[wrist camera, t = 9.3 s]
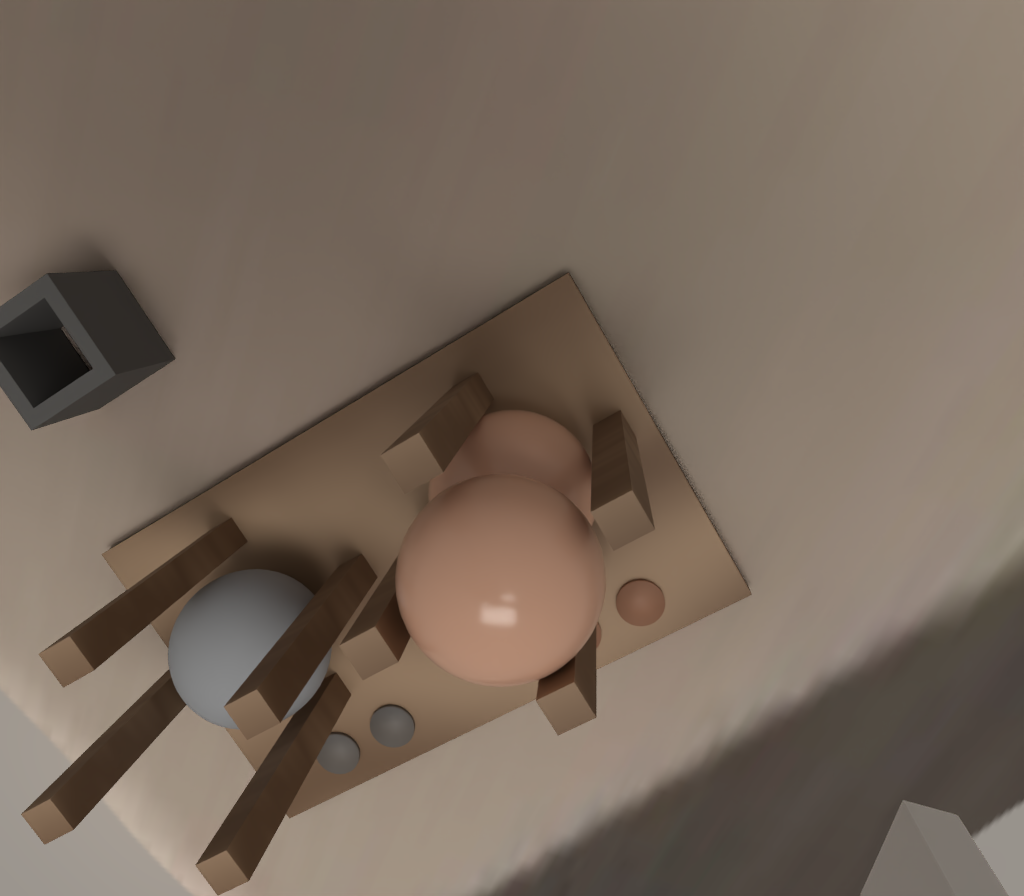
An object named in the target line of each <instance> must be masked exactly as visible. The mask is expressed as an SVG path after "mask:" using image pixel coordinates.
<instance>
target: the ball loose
mask: <svg viewBox="0 0 1024 896" xmlns="http://www.w3.org/2000/svg"><path fill="white" fill-rule="evenodd" d="M395 585H396V597H397V602H398V606H399V610H400V614H401V617H402V619H403V622H404V624H405V626H406V628H407V631H408V633H409V634H410V636H411V637H412V639H413V641H414V642H415V643H416V645H417V646H418V647H419V649H420V650H421V651H422V652H423V653H424V654H425V656H427V657H428V658H429V659H430V660H431V661H432V662H433V663H435V664H436V665H437V666H438V667H439V668H441V669H443V670H444V671H446V672H447V673H449V674H451V675H453V676H455V677H457V678H459V679H461V680H464V681H467V682H470V683H473V684H477V685H482V686H489V687H510V686H518V685H523V684H527V683H531V682H534V681H537V680H540V679H542V678H544V677H547V676H548V675H550V674H552V673H554V672H555V671H557V670H558V669H560V668H561V667H563V666H564V665H565V664H566V663H568V662H569V661H570V660H571V659H572V658H573V657H575V656H576V654H577V653H578V652H579V651H580V650H581V649H582V647H583V646H584V645H585V643H586V642H587V641H588V639H589V638H590V636H591V635H592V633H593V631H594V628H595V626H596V624H597V622H598V620H599V618H600V614H601V611H602V608H603V603H604V599H605V591H606V568H605V562H604V557H603V552H602V548H601V546H600V543H599V541H598V538H597V536H596V533H595V531H594V529H593V528H592V526H591V524H590V523H589V521H588V520H587V518H586V517H585V515H584V514H583V513H582V512H581V510H580V509H579V508H578V507H577V506H576V505H575V504H574V503H573V502H572V501H571V500H570V499H569V498H567V497H566V496H565V495H564V494H563V493H561V492H559V491H558V490H556V489H555V488H553V487H551V486H549V485H547V484H545V483H543V482H541V481H539V480H536V479H533V478H530V477H526V476H521V475H516V474H487V475H481V476H477V477H472V478H469V479H466V480H463V481H461V482H458V483H456V484H454V485H452V486H450V487H448V488H447V489H445V490H444V491H442V492H441V493H439V494H438V495H437V496H436V497H434V498H433V499H432V500H431V501H430V502H429V503H427V504H426V505H425V507H424V508H423V509H422V510H421V511H420V512H419V513H418V515H417V516H416V518H415V519H414V521H413V522H412V524H411V525H410V527H409V528H408V530H407V532H406V535H405V537H404V539H403V542H402V544H401V547H400V550H399V554H398V558H397V564H396V573H395Z"/></svg>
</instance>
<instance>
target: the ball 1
mask: <svg viewBox="0 0 1024 896" xmlns="http://www.w3.org/2000/svg"><path fill="white" fill-rule="evenodd" d="M314 596H315V595H314V594H313V593H312V592H311V591H310V590H309V589H308V588H307V587H305V586H304V585H303V584H302V583H300V582H299V581H297V580H295V579H294V578H292V577H290V576H287V575H285V574H282V573H279V572H275V571H270V570H263V569H248V570H241V571H236V572H232V573H229V574H226V575H224V576H221V577H219V578H217V579H215V580H213V581H212V582H210V583H209V584H207V585H206V586H204V587H203V588H201V589H200V590H199V591H198V592H197V593H196V594H195V595H194V596H193V597H192V598H191V599H190V600H189V601H188V602H187V604H186V605H185V606H184V607H183V609H182V611H181V612H180V614H179V616H178V618H177V619H176V622H175V624H174V627H173V629H172V632H171V636H170V641H169V650H168V663H169V669H170V674H171V677H172V680H173V683H174V686H175V688H176V690H177V692H178V693H179V695H180V697H181V698H182V700H183V701H184V702H185V703H186V704H187V706H188V707H189V708H191V709H192V710H193V711H194V712H195V713H196V714H198V715H199V716H200V717H202V718H203V719H205V720H207V721H209V722H211V723H213V724H215V725H218V726H221V727H225V728H230V729H239V728H238V727H237V725H236V724H235V722H234V721H233V719H232V718H231V717H230V715H229V714H228V712H227V711H226V710H225V708H224V706H225V705H226V703H227V702H228V701H229V700H230V698H231V697H232V696H233V695H234V694H235V692H236V691H237V690H238V689H239V687H240V686H241V685H242V684H243V682H244V681H245V680H246V679H247V678H248V676H249V675H250V674H251V673H252V671H253V670H254V669H255V668H256V667H257V665H258V664H259V663H260V662H261V660H262V659H263V658H264V657H265V656H266V654H267V653H268V652H269V651H270V649H271V648H272V647H273V646H274V645H275V643H276V642H277V641H278V640H279V638H280V637H281V636H282V635H283V634H284V632H285V631H286V630H287V629H288V627H289V626H290V625H291V624H292V622H293V621H294V620H295V619H296V618H297V616H298V615H299V614H300V613H301V611H302V610H303V609H304V608H305V607H306V605H307V604H308V603H309V602H310V600H311V599H312V598H313V597H314ZM331 651H332V647H331V648H330V650H329V651H328V653H327V654H326V656H325V657H324V659H323V660H322V661H321V663H320V664H319V666H318V667H317V669H316V670H315V672H314V673H313V675H312V676H311V678H310V679H309V681H308V682H307V684H306V685H305V687H304V688H303V690H302V691H301V693H300V694H299V696H298V697H297V699H296V700H295V702H294V703H293V705H292V706H291V708H290V709H289V711H288V712H287V714H286V715H285V717H284V718H283V720H285V719H287V718H288V717H290V716H291V715H293V714H295V713H296V712H297V711H298V710H299V709H301V708H302V707H303V706H304V705H305V704H306V703H307V702H308V701H309V700H310V699H311V698H312V697H313V695H314V694H315V693H316V691H317V690H318V688H319V687H320V685H321V683H322V681H323V679H324V677H325V675H326V673H327V670H328V666H329V663H330V658H331ZM283 720H282V721H283ZM239 730H240V729H239Z"/></svg>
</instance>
